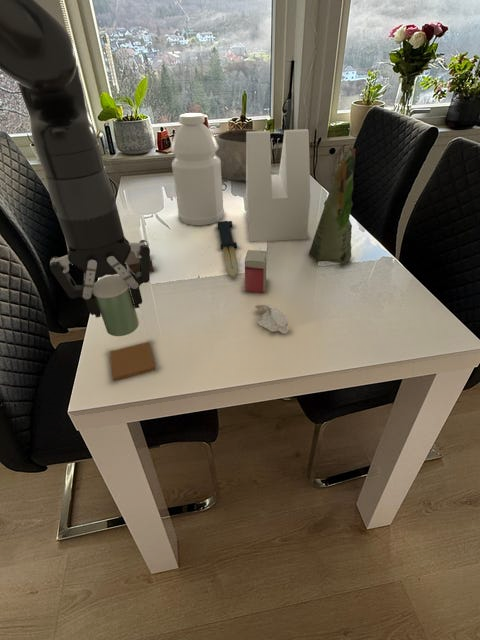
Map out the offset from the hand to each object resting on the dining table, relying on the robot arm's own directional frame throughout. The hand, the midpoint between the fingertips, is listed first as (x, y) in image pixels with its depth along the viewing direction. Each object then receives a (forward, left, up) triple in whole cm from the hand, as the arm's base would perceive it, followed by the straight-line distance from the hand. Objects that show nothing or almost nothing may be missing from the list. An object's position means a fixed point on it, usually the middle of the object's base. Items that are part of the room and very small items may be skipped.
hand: (117, 309), depth 59 cm
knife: (+29, +33, -11) cm, 45 cm away
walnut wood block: (+5, +33, -11) cm, 36 cm away
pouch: (+51, +19, -11) cm, 56 cm away
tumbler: (0, 0, -3) cm, 3 cm away
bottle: (+28, +57, -11) cm, 64 cm away
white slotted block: (+46, +42, -11) cm, 63 cm away
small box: (+29, +14, -12) cm, 34 cm away
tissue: (+27, +1, -12) cm, 29 cm away
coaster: (0, 0, -11) cm, 11 cm away
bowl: (+53, +89, -11) cm, 104 cm away
